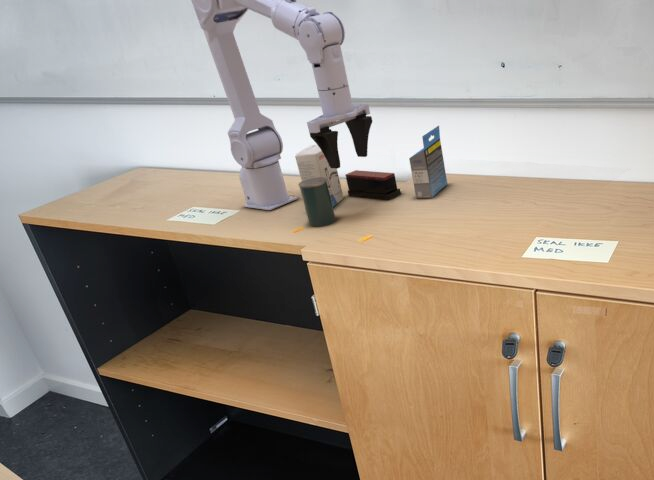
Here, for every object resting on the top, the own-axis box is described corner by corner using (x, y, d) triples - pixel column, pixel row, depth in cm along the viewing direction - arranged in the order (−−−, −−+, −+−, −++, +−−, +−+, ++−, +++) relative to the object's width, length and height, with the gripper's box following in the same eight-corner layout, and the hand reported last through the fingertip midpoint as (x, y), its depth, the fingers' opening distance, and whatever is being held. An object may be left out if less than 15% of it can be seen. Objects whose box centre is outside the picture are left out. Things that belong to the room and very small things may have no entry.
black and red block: (348, 196, 148) (343, 175, 146) (361, 190, 150) (356, 169, 148) (388, 200, 141) (384, 178, 139) (401, 194, 143) (397, 172, 141)
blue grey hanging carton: (431, 185, 146) (422, 126, 140) (448, 184, 145) (439, 125, 139) (415, 198, 139) (404, 137, 133) (432, 198, 138) (422, 136, 132)
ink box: (330, 210, 140) (316, 153, 134) (308, 212, 141) (293, 155, 135) (344, 197, 147) (332, 142, 141) (323, 199, 148) (310, 144, 143)
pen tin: (303, 225, 134) (292, 184, 130) (323, 216, 138) (313, 176, 133) (321, 228, 131) (311, 186, 127) (341, 218, 134) (332, 178, 130)
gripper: (319, 96, 118) (337, 174, 124) (375, 78, 127) (389, 152, 134) (292, 96, 121) (311, 172, 128) (348, 79, 131) (363, 151, 138)
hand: (349, 162), depth 131 cm, fingers open, 7 cm apart
